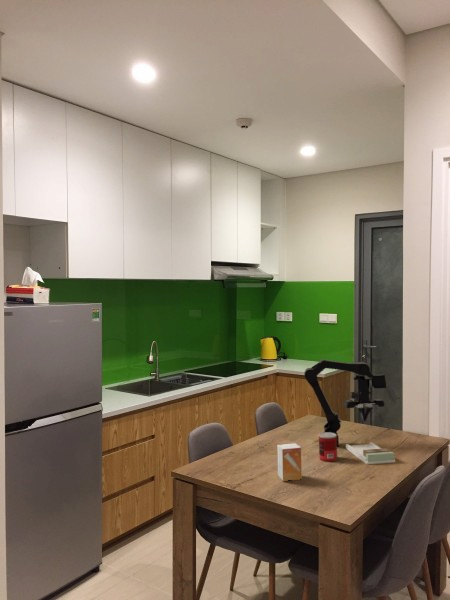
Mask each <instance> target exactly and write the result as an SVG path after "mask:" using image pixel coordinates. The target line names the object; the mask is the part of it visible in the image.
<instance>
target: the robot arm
mask: <svg viewBox="0 0 450 600" xmlns="http://www.w3.org/2000/svg"><path fill="white" fill-rule="evenodd" d="M325 369H328V370H329V369H330V370H339V371H344V372H345V371H347V372H350V373H354V374H355V375H354V376H353V377H352V379H353V380H354V381H356V382H357V383H356V384H357V390H356V392H355V391H351V392H349V398H350V399H344V400H343V402H342V405H343V407H344V408H346V409H354V408H356V409H357V410H358V411H359V414H360V416H361V418H362V421H363V422H366V421H367V418H368V416H369V414H370V413H371V412H372V411H371V410H372V409H374V407H373V406H375V405H376V406H377V407H378V408H379V407H383V408H384V407H386V404H385V401H384V399H381V398H373V399H371V393H372V392H371V389H370V388H372V389H373V390H376V389H377V390H380V389H381V390H386V388H387V381H386V375H385V374H382V373H381V374H373V372H371V371H370V370H371V368H370V365H368V364H367V363H366V362H364V361H357V362H356V361H354V362H346V361H345V362H344V361H343V362H342V361H336V360H329V359H324V358H323V359H321V360H320V361H318V362H317V363H315V364H314V365H313V366H311V367H307V368H306V369H305V370H304V373H303V374H304V378H305V380H306V382H308V385H310V387H311V388H312V389H313V392H314V394H315V396H316V398H317V400H318V402H319V404H320V406H321V409H322V411H323V413H324V415H325V418H326V423H325V424H324V425H323V432H322V433H324V432H330V433H335V434H336V436H337V448H338V447H340V445H339V443H340V442H339V435H338V431H339V430H340V429H341V426H342V425H341V423H342V420H341V418H340V417H339V415H338V413H337V411H335V412H334V411H333V410H332V408H331V405H330V403H329V402H328V399H327V398H326V396H325V393H324V392H323V389H322V387H321V385H320V383H319V379H318V375H320V374H321V373H322V372H323V371H324V370H325Z"/></svg>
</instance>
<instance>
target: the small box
mask: <svg viewBox="0 0 450 600" xmlns="http://www.w3.org/2000/svg"><path fill="white" fill-rule="evenodd" d="M276 446H277V451H276V453H277V476H279V477H280V478H281V479H282V480H283V481H284V482H289V481H288V480H292V481H300V479H301V480H302V479H303V478H302V477H303V476H302V447H301V446H300V445H299V444H297V443H287V444H286V443H283V444H277V445H276ZM279 477H278V478H279ZM280 478H279V479H280ZM281 479H280V480H281ZM282 480H281V481H282ZM283 481H282V482H283Z"/></svg>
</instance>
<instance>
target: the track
mask: <svg viewBox="0 0 450 600" xmlns="http://www.w3.org/2000/svg"><path fill="white" fill-rule="evenodd" d="M381 448H382V447H380V446H379V445H377V444H376V443H374V442H371V441H370V442H369V443H368V444H351V445H350V444H348V443H346V444H345V449H346V450H348V451H349V452H350V453H351V454H353V456H355V457H357V459H359V460H361V462H363V463H364V464H365V465H376V464H391V463H396V459H395V452H393V451H390V452H380V453H367V454H366V457H365V456H363V450H368V449H381Z"/></svg>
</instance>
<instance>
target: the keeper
mask: <svg viewBox="0 0 450 600" xmlns="http://www.w3.org/2000/svg"><path fill="white" fill-rule="evenodd" d="M380 448H381V449H368V450H363V456H365V457H366V454H367V453H380V452H391V451H390V450H389V449H387V448H386V447H384V448H382V447H380Z"/></svg>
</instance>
